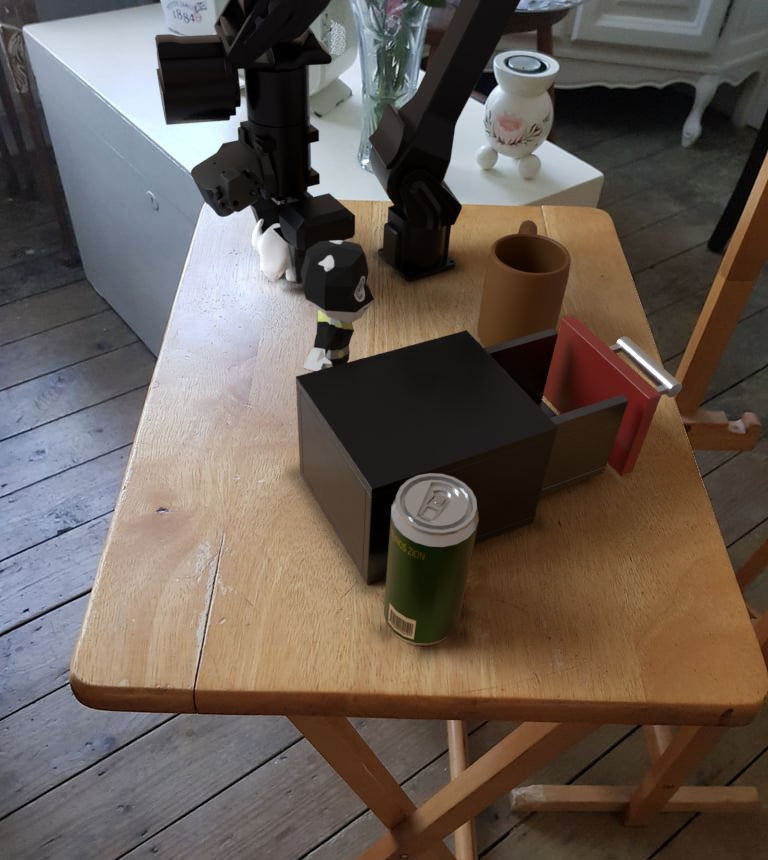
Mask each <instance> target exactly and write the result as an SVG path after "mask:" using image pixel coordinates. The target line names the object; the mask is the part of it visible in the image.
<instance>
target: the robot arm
mask: <svg viewBox="0 0 768 860" xmlns="http://www.w3.org/2000/svg"><path fill="white" fill-rule="evenodd" d="M521 1H522V0H460V1H459V2H458V5H457V7H456V9H455V11H454V13H453V15H452V17H451V20H450V22H449V23H448V26H447V28H446V29H445V32H444V34H443V36H442V38H441V39H440V42H439V44H438V47H436V50H435V52H434V54H433V57H432V59H431V61H430V63H429V65H428V67H427V69H426V71H425V73H424V75H423V77H422V79H421V81H420V83H419V86H418V87H417V89H416V91H415V93H414V95H412V96H411V98H410V99H409V100H408V101H406V102H405V103H404V104H403V105H402V106H401V107H400V108H397V107H396V106H394V105H393V104H392V103H390V102H388V103H386V105H384V108H383V110H382V113H381V117H380V121H379V123H378V125H377V127H376V129H375V130H374V131H373V133H372V134H371V135H370V136H368V139H367V140H368V142H369V144H370V145H371V147H370V150H369V157H368V158H369V162H370V167H371V169H372V172H373V174H374V176H375V177H376V179H377V180H378V182H379V184H380V185H381V187H382V189H383V191H384V192H385V194H386V195H387V197H388V199H389V200H390V201H391V202H392V204H393V205H391V206H390V205H389V206H387V221H386V222H385V223H384V225H383V235H382V236H383V238H382V247H381V248H378V249H377V255H378V257H380V258H381V259H382V260H383V261H385V262H386V263H387V264H388V266H390V267H391V268H392V269H394V271H396V272H397V274H399V275H400V276H401V277H402V278H403V279H404V280H406V281H414V280H418V279H421V278H424V277H427V276H431V275H434V274H437V273H440V272H443V271H447V270H450V269H453V268H455V267H456V266H457V261H456V260H455V259H454V258H453V257H451V256H450V255H449V249H450V240H451V231H452V226H454V225H455V224H456V222H457V220H458V219H459V215H460V213H461V211H462V209H463V206H462V204H461V202H460V201H459V200H458V198H457V197H456V195H455V194H454V192H453V191H452V190H451V188H450V187H449V185H448V184H447V182H446V181H445V177H446V176H447V172H448V169H449V167H450V164H451V161H452V154H453V146H454V139H455V133H456V132H455V131H456V126H457V123H458V120H459V119H460V117H461V116H462V113H463V111H464V109H465V107H466V105H467V103H468V102H469V100H470V98H471V96H472V94H473V92H474V90H475V89H476V86H477V84H478V82H479V81H480V79H481V77H482V75H483V73H484V71H485V69H486V67H487V65H488V64H489V61H490V60H491V58H492V56H493V54H494V52H495V50H496V48H497V46H498V45H499V43H500V41H501V39H502V37H503V35H504V33H505V31H506V29H507V27H508V25H509V24H510V22H511V20H512V18H513V16H514V14H515V12H516V10H517V9H518V6H519V4H520V3H521ZM331 2H332V0H227V1H226V4H225V5H224V6H223V8H222V10H221V11H220V14H219V16H217V17H218V18H217V19H216V21H215V23H214V26H213V28H214V31H215V33H216V34H202V35H175V34H170V33H167V34H156V35H155V37H154V41H155V47H156V58H157V67H158V68H156V76H157V83H158V90H159V95H160V100H161V107H162V112H163V117H164V122H165V125H166V126H170V125H172V126H173V125H186V124H199V123H213V122H227V121H230V120H231V117H234V116H237V108H240V107H241V105H242V95H241V84H240V75H239V70H243V79H244V91H245V103H246V104H245V105H246V117H247V120H243V121H240V122H239V126H238V127H237V140H233V141H231V140H230V141H227V142H223V143H222V144H221V146H220V147H218V150H217V151H216V152H215V153H214V154H212V155H210V156H209V157H207V158H205V159H204V160H202V161H201V162H199V163H198V164H196V165H195V166H193V168H191V170H190V176H191V177H192V179H193V181H194V183H195V185H196V187H197V189H198V191H199V193H200V194H201V197H202V199H203V200H204V202H205V203H206V204H207V205H208V206H209V207H210V208H211V209H212V210H213V211H214V213H215V214H216V215H217V216H218V217H220V218H226V217H229V216H231V215H232V214H234V213H235V212H236V213H240V212H242V211H244V210H245V209H247V208H250V209H251V211H252V214H253V217H254V219H255V223H256V224H257V223H258V221H259V220H261V219H263V220H264V222H263V225H262V227H261V233H262V234H263V233H264V232H265V231H266V230H267V229H268V228H269V227H271V226H272V225H273V224H276V223H279V224H280V227H278V228H274V229H273V230H274V231H275V232H276V233H277V234H278V235H279V236H280V237H281V238H282V239H283V240H284V241H285V242H286V243H287V244H288V249H289V255H290V260H291V266H292V271H293V275H294V279H295V281H294V282H295V283H296V284H297V285H298V284H303V283H302V277H301V269H302V266H303V263H304V260H305V256H306V252H307V249H309V248H310V247H312V246H313V245H315V244H316V243H318V242H319V241H335V240H342V241H347V240H350V239H353V238H354V236H355V234H356V215H355V214H354V213H353V212H352V211H351V210H349V209H348V207H346V206H345V205H343V204H342V203H341V201H339V200H338V199H337V198H336V197H334V196H333V195H332V194H331V193H329V192H328V193H324V194H319V195H316V196H315V195H313V194H311V193H310V192H309V191H308V190H309V187H313V186H317V185H320V184H321V178H320V177H321V174H320V173H319V171H317V170H316V169H315V168H313V167H312V147H311V145H312V143H317V142H320V130H319V129H318V128H317V127H315V126H314V125H313V124H312V123H311V107H310V106H311V105H310V101H311V100H310V66H322V65H323V66H324V65H325V66H326V65H330V64H332V61H333V57H332V55H331V53H330V52H329V50H328V49H327V47H326V45H325V44H324V43H323V42H322V41H321V40H319V38H317V37H316V34H315V32H314V31H313V29H312V28H311V27H310V26H312V24H313V23H314V22H315V21H316V20H317V19H318V18H319V16H320V15H322V13H324V11H326V9H327V8H328V7H329V5H330V4H331Z"/></svg>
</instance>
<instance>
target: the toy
mask: <svg viewBox="0 0 768 860" xmlns="http://www.w3.org/2000/svg"><path fill="white" fill-rule="evenodd" d="M369 275H370V272H369V265H368V260H367V256H366V253H365V251H364V249H363V246H362V245H361V244H360V243H355V242H351V241H347V240H343V241H342V240H335V241H319V242H318V243H316V244H315V245H313V246H312V247H310V248H309V249H307V252H306V256H305V260H304V263H303V266H302V269H301V277H302V283H301V284H302V288H303V292H304V293H303V294H304V298H305V300H306V301H307V302H309V303H310V304H311V305H312V306H314V307H315V308H316V309H317V313H316V314H317V316H316V334H315V338H314V342H313V347H312V348H311V350H310V351H309V353H308V355H307V358H306V360H305V362H304V364H303V366H302V369H303V370H306V371H310V372H314V371H318V370H322V369H325V368H329V367H333V366H336V365H340V364H344V363H347V362H349V360H350V353H351V352H350V343H351V340H352V337H353V334H354V332H355V328H354V325H353V323H354V322H356V321H358V320H360V319H362V318H363V316H364V315H365V313H366V312H367V311H368V310H369V308H370V307H371V305H372V304H373V303H374V301H375V297H374V294H373V292H372V291H371V288H370V285H369V284H368V278H369Z"/></svg>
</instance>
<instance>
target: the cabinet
mask: <svg viewBox="0 0 768 860" xmlns="http://www.w3.org/2000/svg"><path fill="white" fill-rule="evenodd" d="M484 348H485V347H483V346H482V345H481V344H480V342H479V341H477V340H476V338H475V337H474V336H473V335H472V334H471V332H469V331H468V330H467V329H466V330H462V331H458V332H455V333H451V334H447V335H444V336H440V337H439V336H438V337H436V338H433V339H429V340H425V341H422V342H417V343H414V344H411V345H407V346H406V345H405V346H403V347H400V348H395V349H392V350H388V351H384V352H381V353H377V354H373V355H370V356H366V357H361V358H358V359H355V360H351V361H348V362H347V363H344V364H340V365H336V366H333V367H329V368H325V369H322V370H318V371H310V372H307V373H304V374H298V375H296V376H295V389H296V391H295V392H296V411H297V413H296V414H297V415H296V416H297V431H298V432H297V434H298V435H297V437H298V451H299V452H298V457H299V474H300V476H301V478H302V479H303V481H304V483H305V485H306V486H307V488H308V490H309V492H310V493H311V495H312V496H313V498H314V499H315V501H316V503H317V505H318V506H319V508H320V509H321V511H322V513H323V514H324V516H325V518H326V519H327V521H328V523H329V524H330V526H331V528H332V529H333V531H334V533H335V534H336V536H337V537H338V540H339V541H340V543H341V544H342V546H343V547H344V549H345V551H346V552H347V554H348V556H349V558H350V559H351V561H352V563H353V564H354V565H355V567H356V569H357V571H358V572H359V574H360V575H361V577H362V579H363V581H364V583H365V585H367V586H368V585H371V584H373V583H377V582H378V581H381V580H384V579H386V573H387V560H388V546H389V533H390V520H391V507H392V504H393V502H394V500H395V498H396V495H397V493H398V491H399V489H400V487H401V486H402V485H403V484H404V483H405V482H406V481H407V480H409V479H411V478H413V477H415V476H418V475H423V474H428V473H435V474H444V475H448V476H451V477H454V478H456V479H458V480H460V481H462V482H463V483H465V484H466V485H467V486H468V487H469V488H470V489H471V490H472V492H473V494H474V496H475V498H476V501H477V510H478V518H479V521H478V526H477V532H476V537H475V542H474V546H475V545H477V544H480V543H482V542H486V541H488V540H490V539H493V538H496V537H499V536H501V535H505V534H506V533H509V532H512V531H515V530H517V529H520V528H523V527H525V526H528V525H531V524H533V523H534V520H535V517H536V512H537V509H538V505H539V502H540V498H541V496H540V494H541V490H542V486H543V483H544V479H545V475H546V472H547V468H548V464H549V460H550V457H551V453H552V449H553V446H554V442H555V438H556V434H557V431H558V426H557V425H556V424H555V423H554V422H553V421H552V420H551V419H550V418H549V417H548V416H547V415H546V414H545V413H544V412H543V411H542V409H541V408H540V407H539V406H538V405H537V404H536V403H535V402H534V401H533V400H532V399H531V398H530V397H529V396H528V395H527V394H526V392H525V391H524V390H523V389H522V388H521V387H520V386H519V385H518V384H517V383H516V382H515V381H514V380H513V379H512V378H511V377H510V376H509V374H508V373H507V372H506V371H505V370H504V369H503V368H502V367H501V366H500V365H499V364H498V363H497V362H496V361H495V360H494V359H493V357H492V356H491V355H490V354H489V353H488V352H487V351H486V350H485V349H484Z"/></svg>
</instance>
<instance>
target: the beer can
mask: <svg viewBox="0 0 768 860" xmlns="http://www.w3.org/2000/svg"><path fill="white" fill-rule="evenodd" d="M478 521H479V518H478V510H477V501H476V498H475V496H474V494H473V492H472V490H471V489H470V488H469V487H468V486H467V485H466V484H465V483H463V482H462V481H460V480H458V479H456V478H454V477H451V476H448V475H444V474H435V473H428V474H423V475H418V476H415V477H413V478H411V479H409V480H407V481H406V482H405V483H404V484H403V485H402V486H401V487H400V489H399V491H398V493H397V495H396V498H395V500H394V502H393V504H392V507H391V520H390V533H389V546H388V560H387V573H386V578H385V587H384V599H383V601H384V602H383V616H384V619H385V622H386V624H387V626H388V627H389V629H390V630H391V631H392V632H393V634H394V635H395V636H396V637H397V638H399V639H400V640H402V641H403V642H405V643H408V644H411V645H414V646H420V647H421V646H422V647H423V646H424V647H427V646H432V645H436V644H438V643H440V642H441V641H443V640H445V639H446V638H448V637H449V636H450V635H451V634H452V633H453V632H454V631H455V629H457V626H458V625H459V624H458V623H459V621H460V617H461V613H462V608H463V602H464V597H465V592H466V587H467V583H468V577H469V573H470V567H471V561H472V556H473V552H474V546H475V545H474V542H475V537H476V532H477V526H478Z"/></svg>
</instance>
